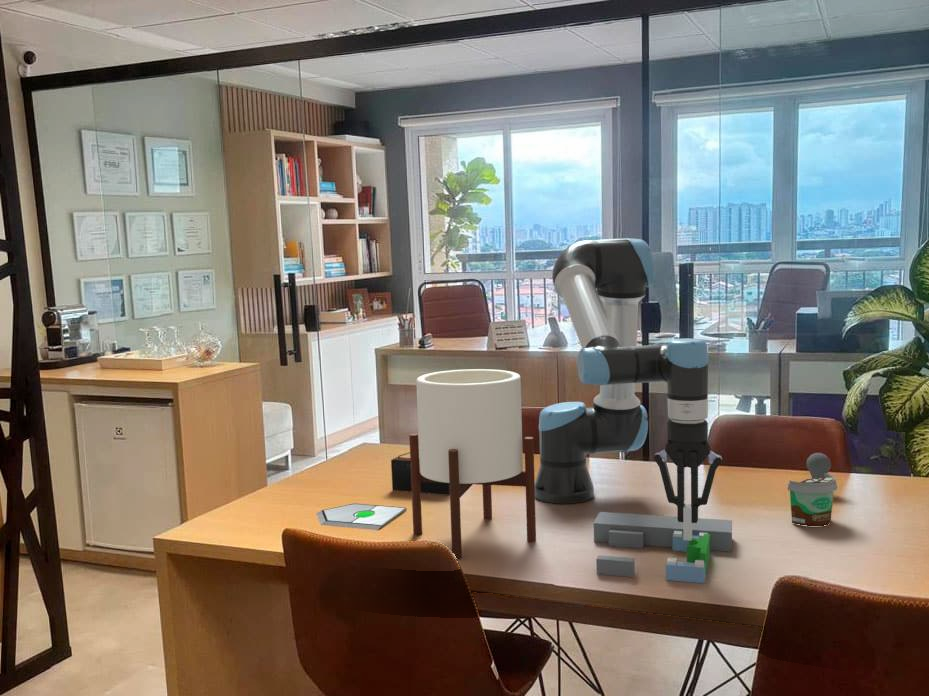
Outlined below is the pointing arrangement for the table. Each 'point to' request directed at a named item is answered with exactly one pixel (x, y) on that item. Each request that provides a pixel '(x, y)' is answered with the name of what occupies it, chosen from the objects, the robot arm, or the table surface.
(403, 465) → the radio
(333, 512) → the grey pentagonal plate
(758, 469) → the table surface
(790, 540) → the table surface
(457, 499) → the plant pot with stand
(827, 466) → the light bulb
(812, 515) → the food container
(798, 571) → the table surface
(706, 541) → the pipe clamp
